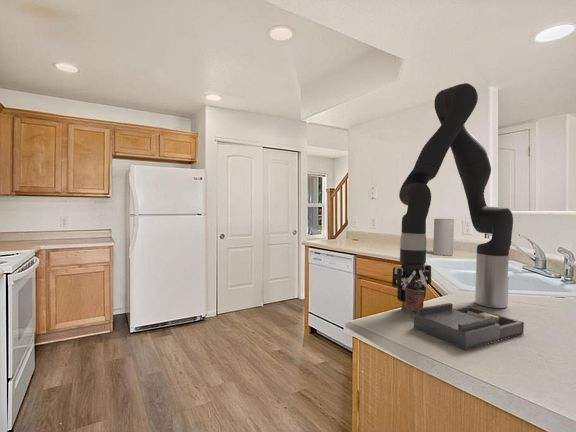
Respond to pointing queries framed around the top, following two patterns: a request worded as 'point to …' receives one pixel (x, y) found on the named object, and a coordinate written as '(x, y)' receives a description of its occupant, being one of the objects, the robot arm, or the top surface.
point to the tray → (500, 323)
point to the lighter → (413, 297)
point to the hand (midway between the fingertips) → (411, 299)
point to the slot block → (456, 326)
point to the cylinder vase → (443, 237)
